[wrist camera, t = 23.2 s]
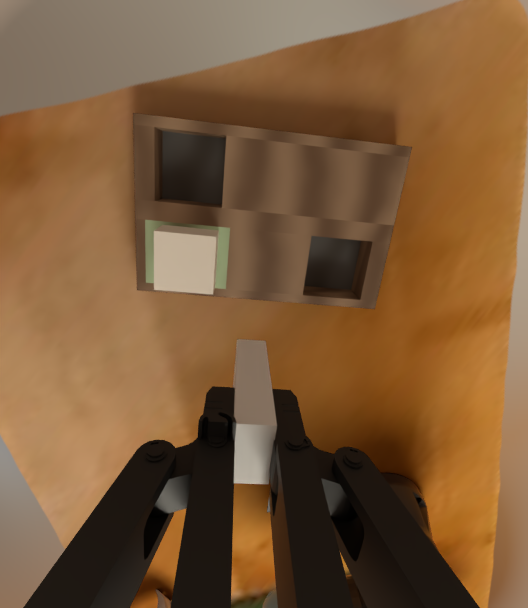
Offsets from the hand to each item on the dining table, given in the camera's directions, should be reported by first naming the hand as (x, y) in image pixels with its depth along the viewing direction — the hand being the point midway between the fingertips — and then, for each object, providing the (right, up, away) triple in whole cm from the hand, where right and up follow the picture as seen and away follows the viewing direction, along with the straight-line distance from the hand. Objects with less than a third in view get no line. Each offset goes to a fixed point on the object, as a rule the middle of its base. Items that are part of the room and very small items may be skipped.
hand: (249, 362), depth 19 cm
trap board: (+1, +13, +23) cm, 27 cm away
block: (-7, +9, +20) cm, 23 cm away
